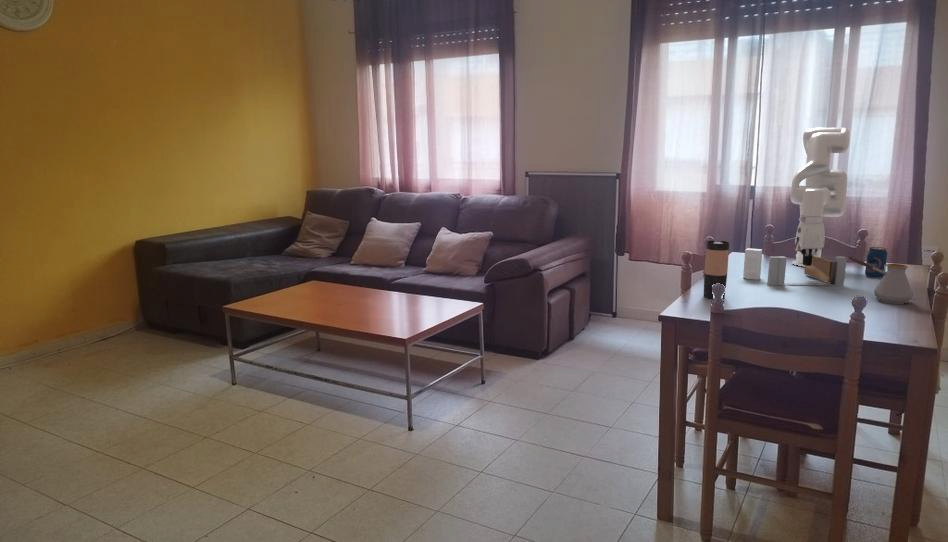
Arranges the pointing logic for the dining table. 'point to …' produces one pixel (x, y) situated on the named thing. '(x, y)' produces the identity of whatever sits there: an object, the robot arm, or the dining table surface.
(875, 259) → the soda can
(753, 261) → the skincare box
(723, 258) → the travel mug
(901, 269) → the coffee pot
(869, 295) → the dining table surface
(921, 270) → the dining table surface
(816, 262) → the door
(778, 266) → the doorframe
